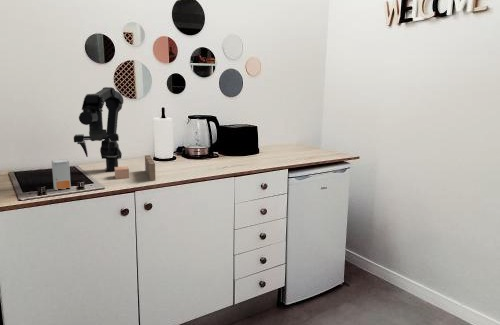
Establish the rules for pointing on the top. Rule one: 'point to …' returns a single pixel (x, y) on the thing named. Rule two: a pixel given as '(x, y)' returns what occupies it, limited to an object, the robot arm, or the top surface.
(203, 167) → the top surface
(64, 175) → the skincare box
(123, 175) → the terracotta block
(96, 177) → the top surface
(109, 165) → the robot arm
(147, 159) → the walnut board
